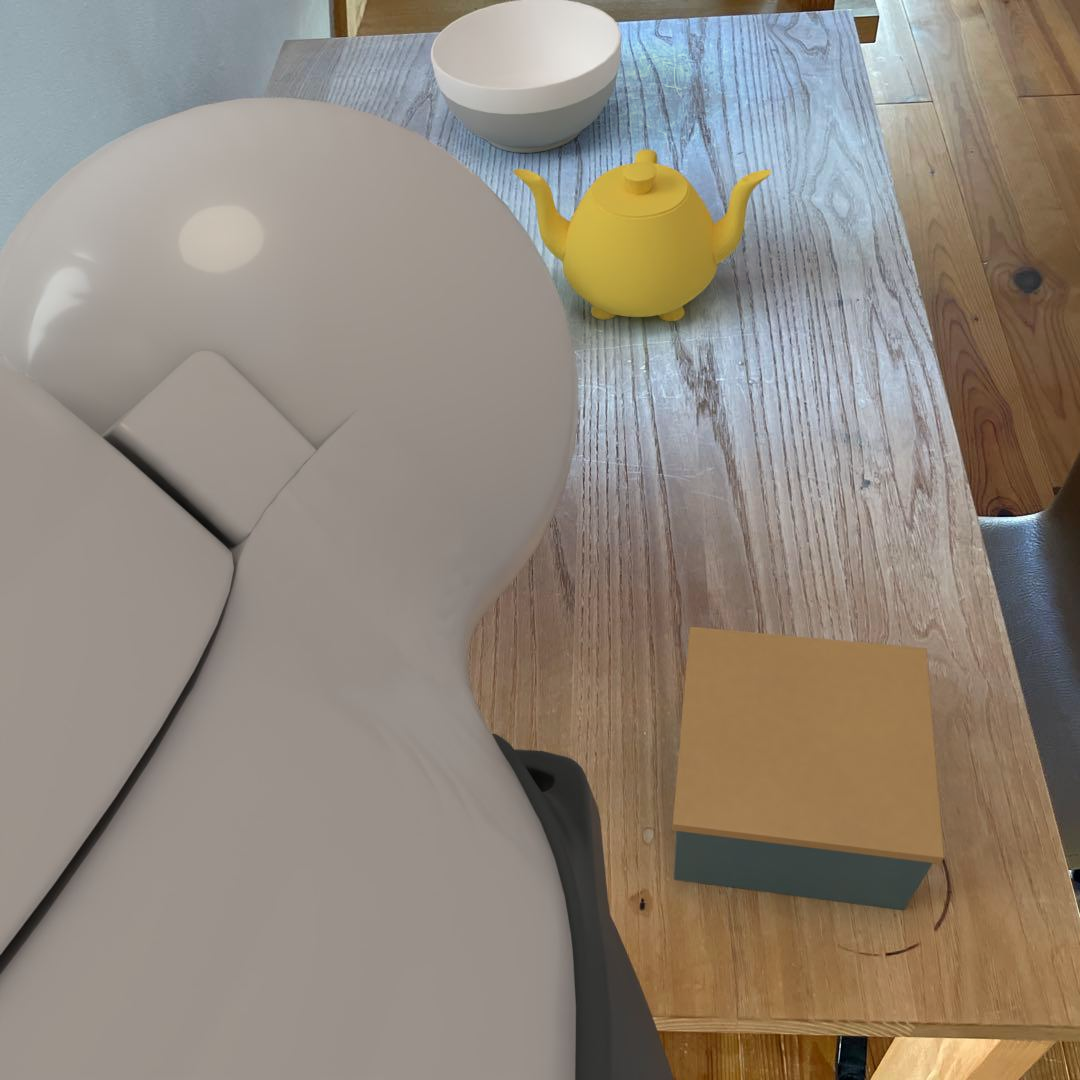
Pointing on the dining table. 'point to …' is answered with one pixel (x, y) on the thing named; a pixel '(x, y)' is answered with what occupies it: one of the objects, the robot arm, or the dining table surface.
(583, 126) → the bowl
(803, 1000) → the dining table surface
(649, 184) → the teapot
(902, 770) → the toy box
